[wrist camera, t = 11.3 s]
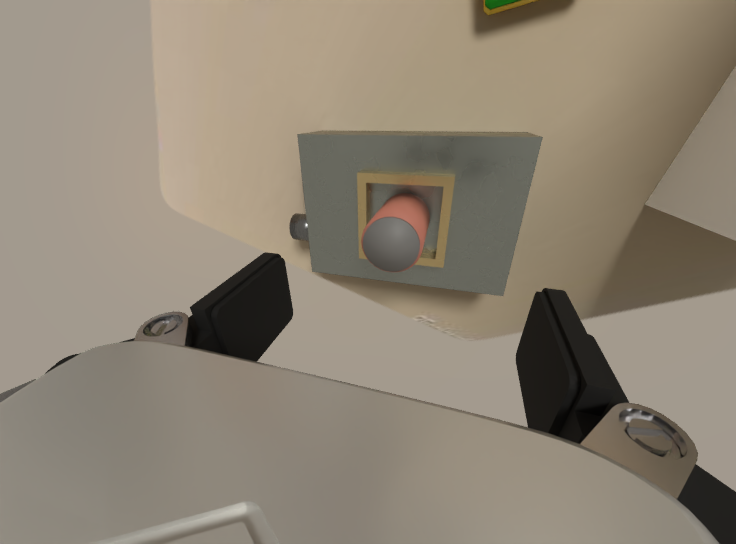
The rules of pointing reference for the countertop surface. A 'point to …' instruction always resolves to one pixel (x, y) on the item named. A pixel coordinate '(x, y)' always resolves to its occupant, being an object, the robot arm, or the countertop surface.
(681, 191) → the milk
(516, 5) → the dish sponge
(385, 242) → the oil can
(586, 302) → the countertop surface
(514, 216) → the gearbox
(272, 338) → the robot arm
